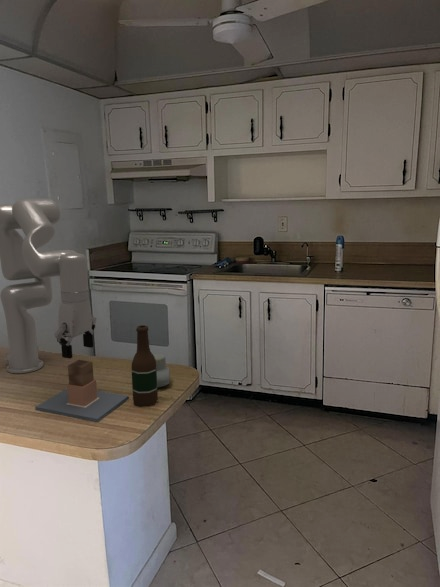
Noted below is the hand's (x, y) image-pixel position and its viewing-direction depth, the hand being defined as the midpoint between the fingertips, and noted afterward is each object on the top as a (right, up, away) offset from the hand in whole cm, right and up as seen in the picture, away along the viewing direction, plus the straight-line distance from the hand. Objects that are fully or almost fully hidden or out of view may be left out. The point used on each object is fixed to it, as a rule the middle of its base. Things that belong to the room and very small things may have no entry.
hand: (78, 352), depth 131 cm
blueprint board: (+1, -16, +3) cm, 17 cm away
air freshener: (+21, -13, +17) cm, 30 cm away
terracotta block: (+1, -15, +3) cm, 15 cm away
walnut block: (+1, -9, +1) cm, 9 cm away
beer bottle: (+19, -16, +4) cm, 25 cm away
